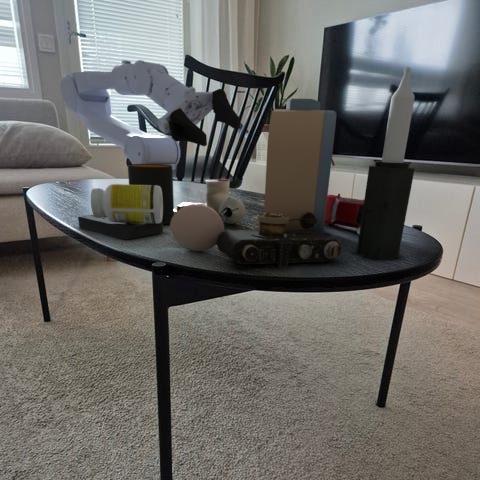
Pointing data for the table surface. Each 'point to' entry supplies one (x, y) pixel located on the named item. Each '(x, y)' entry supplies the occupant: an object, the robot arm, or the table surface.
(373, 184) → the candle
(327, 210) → the toy car
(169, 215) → the mug
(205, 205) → the dial console
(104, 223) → the vhs tape
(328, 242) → the camera
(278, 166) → the tall beige block
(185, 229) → the egg
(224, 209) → the reed diffuser
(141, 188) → the pill bottle
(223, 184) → the pointer wheel
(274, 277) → the table surface
